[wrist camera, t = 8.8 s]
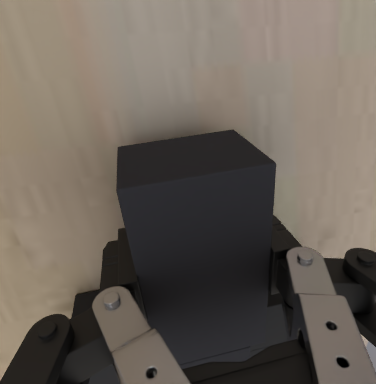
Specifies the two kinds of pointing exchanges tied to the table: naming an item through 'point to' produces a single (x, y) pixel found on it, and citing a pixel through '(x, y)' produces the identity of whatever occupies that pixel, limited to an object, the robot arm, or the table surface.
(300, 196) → the table surface
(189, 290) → the pad
